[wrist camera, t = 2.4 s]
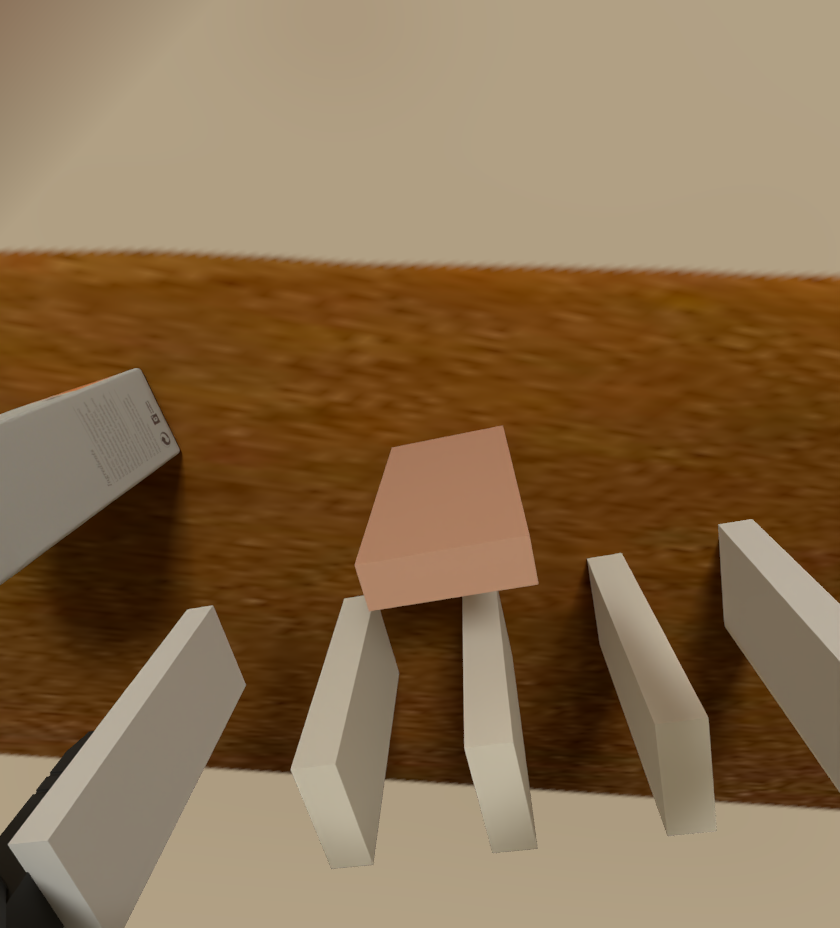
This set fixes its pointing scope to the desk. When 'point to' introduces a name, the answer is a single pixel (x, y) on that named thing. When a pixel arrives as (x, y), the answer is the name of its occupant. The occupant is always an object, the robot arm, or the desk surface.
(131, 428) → the skincare box
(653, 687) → the domino
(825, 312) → the desk surface
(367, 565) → the domino
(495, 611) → the domino
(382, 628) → the domino
